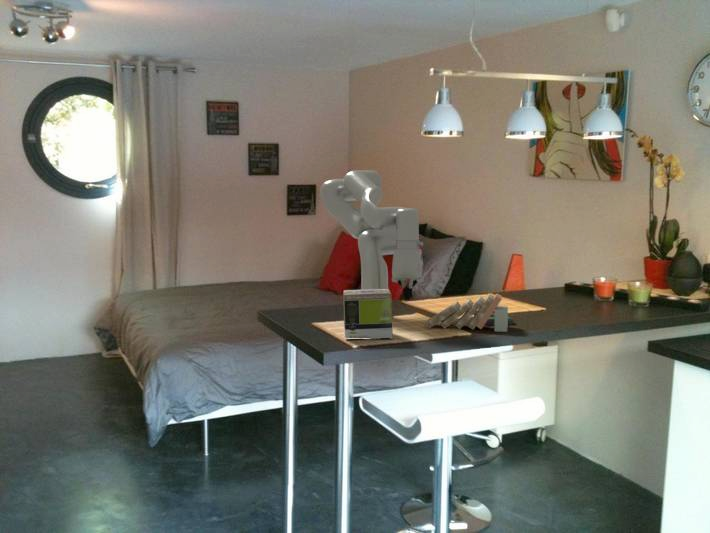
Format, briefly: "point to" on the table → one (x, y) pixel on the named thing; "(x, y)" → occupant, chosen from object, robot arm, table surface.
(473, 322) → the domino
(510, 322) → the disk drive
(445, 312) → the domino
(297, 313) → the table surface
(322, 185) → the robot arm
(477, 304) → the domino
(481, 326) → the domino
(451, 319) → the domino
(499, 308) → the block
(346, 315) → the tea box
